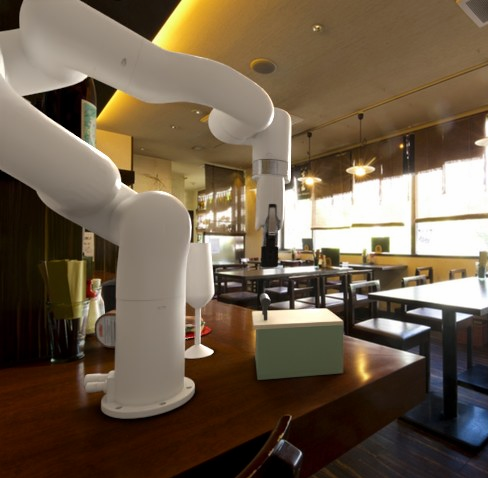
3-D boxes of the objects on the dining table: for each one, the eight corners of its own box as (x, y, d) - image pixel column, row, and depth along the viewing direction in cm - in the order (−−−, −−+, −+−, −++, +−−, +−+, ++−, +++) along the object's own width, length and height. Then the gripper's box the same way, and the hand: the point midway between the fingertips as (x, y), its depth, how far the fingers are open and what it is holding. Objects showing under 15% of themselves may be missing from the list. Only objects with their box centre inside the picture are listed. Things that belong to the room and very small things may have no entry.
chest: (257, 380, 57) (258, 329, 57) (255, 356, 70) (255, 314, 70) (343, 373, 61) (343, 325, 61) (326, 351, 73) (326, 312, 73)
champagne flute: (173, 356, 69) (175, 242, 70) (194, 347, 76) (196, 243, 76) (200, 359, 67) (202, 242, 68) (219, 350, 74) (221, 243, 74)
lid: (253, 329, 57) (253, 301, 57) (251, 315, 70) (252, 291, 70) (343, 325, 61) (343, 298, 61) (326, 311, 73) (327, 289, 73)
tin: (162, 347, 75) (163, 310, 76) (154, 351, 72) (155, 313, 72) (101, 344, 77) (102, 308, 77) (91, 348, 74) (92, 311, 74)
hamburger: (158, 328, 92) (159, 307, 92) (211, 325, 96) (211, 305, 97) (148, 342, 79) (149, 317, 79) (210, 338, 83) (210, 314, 83)
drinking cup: (95, 340, 80) (96, 258, 81) (106, 332, 88) (107, 257, 88) (129, 338, 82) (131, 258, 83) (138, 330, 90) (139, 257, 90)
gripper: (251, 180, 71) (249, 265, 71) (253, 162, 57) (250, 269, 56) (285, 182, 73) (283, 265, 72) (296, 166, 58) (294, 269, 58)
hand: (269, 266), depth 64 cm, fingers closed
